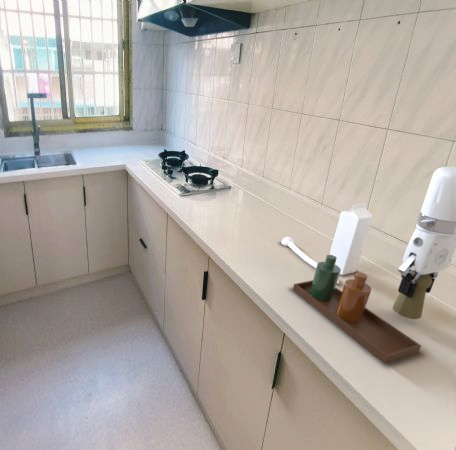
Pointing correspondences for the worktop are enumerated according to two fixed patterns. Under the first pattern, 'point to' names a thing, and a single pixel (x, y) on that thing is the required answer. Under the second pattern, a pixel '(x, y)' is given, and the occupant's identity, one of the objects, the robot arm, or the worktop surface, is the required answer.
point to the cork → (413, 299)
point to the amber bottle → (354, 299)
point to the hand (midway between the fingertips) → (413, 291)
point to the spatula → (299, 251)
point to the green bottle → (325, 279)
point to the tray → (364, 328)
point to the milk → (351, 237)
